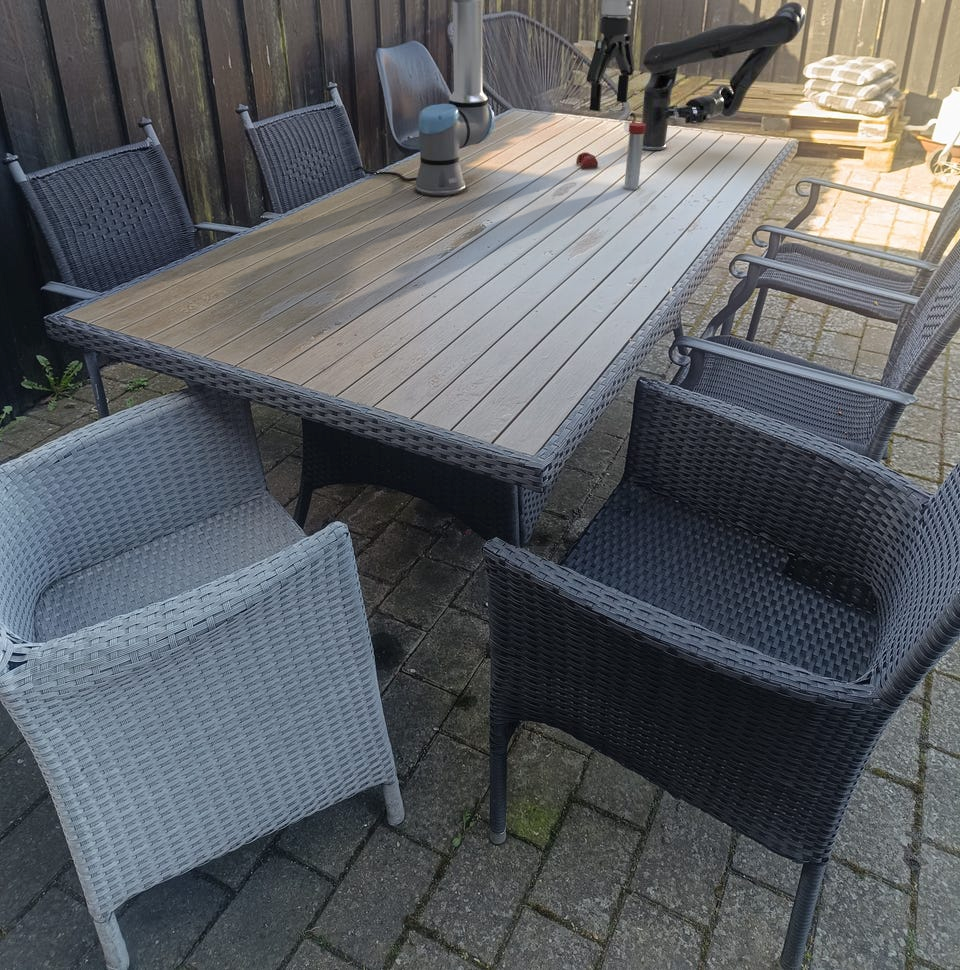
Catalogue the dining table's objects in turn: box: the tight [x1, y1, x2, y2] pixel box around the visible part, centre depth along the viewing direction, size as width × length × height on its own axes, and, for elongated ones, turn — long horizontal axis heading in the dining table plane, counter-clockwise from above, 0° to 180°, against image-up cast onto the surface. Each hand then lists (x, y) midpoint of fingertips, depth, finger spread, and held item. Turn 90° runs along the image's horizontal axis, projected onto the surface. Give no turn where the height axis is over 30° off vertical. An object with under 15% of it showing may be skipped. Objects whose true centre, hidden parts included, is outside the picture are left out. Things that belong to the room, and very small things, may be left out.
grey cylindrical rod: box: [623, 132, 644, 191], centre depth 255 cm, size 4×4×18 cm
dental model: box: [575, 151, 599, 169], centre depth 278 cm, size 6×4×8 cm
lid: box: [628, 122, 646, 134], centre depth 250 cm, size 5×5×2 cm
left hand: (608, 106), depth 226 cm, fingers open, 13 cm apart
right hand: (674, 117), depth 263 cm, fingers open, 8 cm apart
